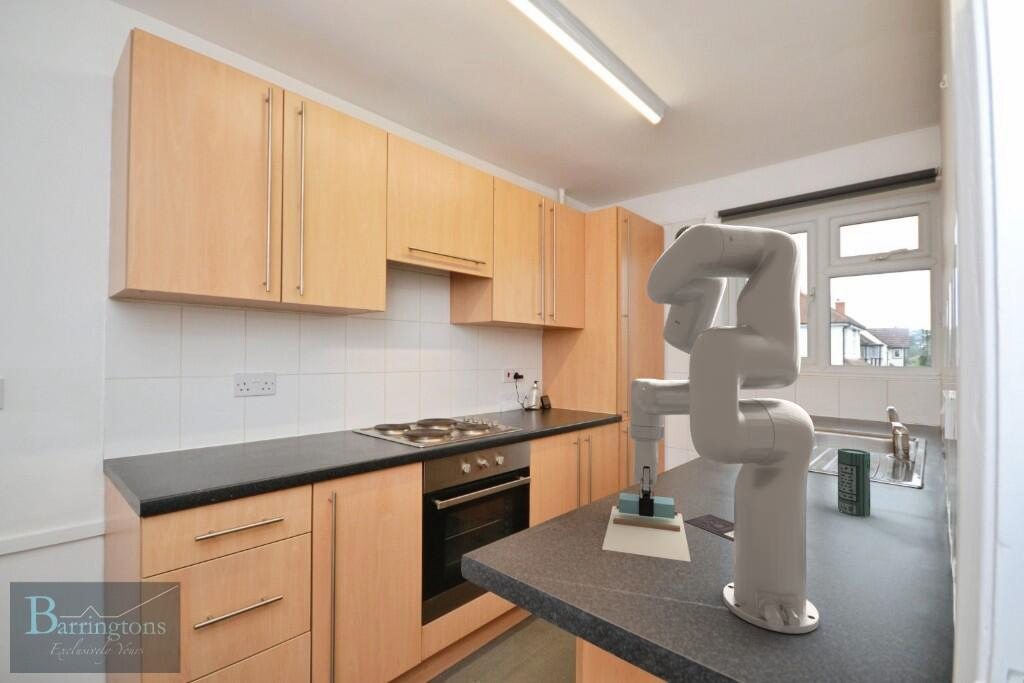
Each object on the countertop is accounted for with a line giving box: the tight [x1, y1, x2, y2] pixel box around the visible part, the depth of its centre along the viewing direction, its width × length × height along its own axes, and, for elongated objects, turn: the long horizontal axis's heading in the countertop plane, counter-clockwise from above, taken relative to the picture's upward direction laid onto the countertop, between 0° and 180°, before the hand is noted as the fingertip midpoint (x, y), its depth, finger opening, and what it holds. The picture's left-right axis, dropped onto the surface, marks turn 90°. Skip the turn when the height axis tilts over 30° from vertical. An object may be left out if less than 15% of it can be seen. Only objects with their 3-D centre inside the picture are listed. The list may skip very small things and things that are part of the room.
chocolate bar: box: [683, 514, 734, 542], centre depth 97 cm, size 9×1×18 cm
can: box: [837, 448, 871, 518], centre depth 112 cm, size 6×6×15 cm
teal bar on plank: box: [618, 492, 676, 519], centre depth 104 cm, size 12×5×3 cm, turn 73°
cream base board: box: [601, 503, 692, 563], centre depth 97 cm, size 26×16×1 cm, turn 163°
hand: (646, 510), depth 104 cm, fingers closed on teal bar on plank, 4 cm apart
